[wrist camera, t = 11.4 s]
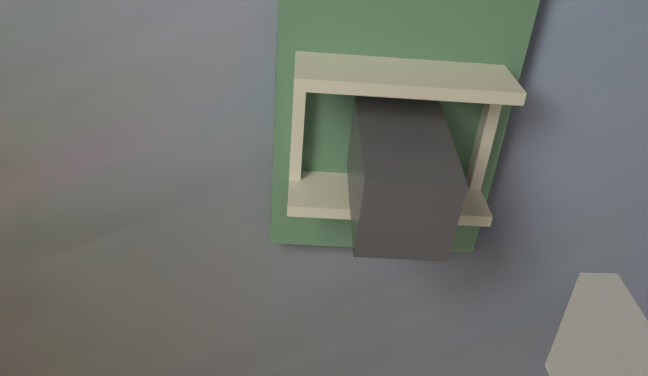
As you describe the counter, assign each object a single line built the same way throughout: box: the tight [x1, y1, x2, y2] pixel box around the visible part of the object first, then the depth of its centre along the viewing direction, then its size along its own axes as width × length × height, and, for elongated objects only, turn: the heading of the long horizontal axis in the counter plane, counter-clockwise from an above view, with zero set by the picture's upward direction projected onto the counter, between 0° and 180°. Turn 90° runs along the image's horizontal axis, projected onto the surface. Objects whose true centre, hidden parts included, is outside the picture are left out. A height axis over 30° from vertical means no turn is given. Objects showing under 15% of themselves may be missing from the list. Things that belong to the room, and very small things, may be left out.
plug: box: [347, 96, 468, 261], centre depth 28 cm, size 4×4×7 cm
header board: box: [270, 0, 540, 253], centre depth 30 cm, size 16×12×5 cm
